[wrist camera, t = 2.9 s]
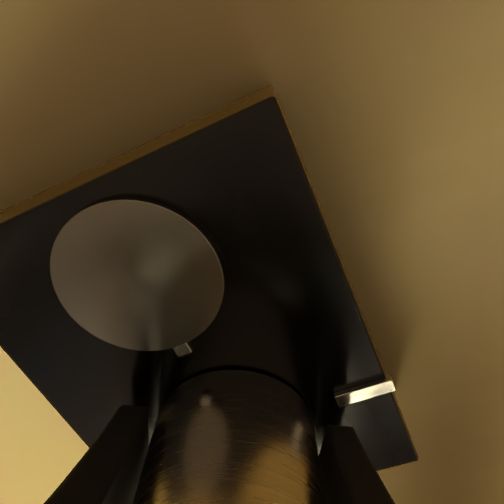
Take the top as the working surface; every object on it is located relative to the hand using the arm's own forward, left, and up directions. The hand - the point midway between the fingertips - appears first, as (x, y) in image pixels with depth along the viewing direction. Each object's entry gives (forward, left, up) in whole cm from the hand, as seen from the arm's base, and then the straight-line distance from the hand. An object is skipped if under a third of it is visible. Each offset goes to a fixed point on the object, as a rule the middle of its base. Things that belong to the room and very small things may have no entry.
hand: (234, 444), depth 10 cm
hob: (+2, 0, -3) cm, 4 cm away
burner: (+5, 0, 0) cm, 5 cm away
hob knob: (0, 0, 0) cm, 0 cm away
